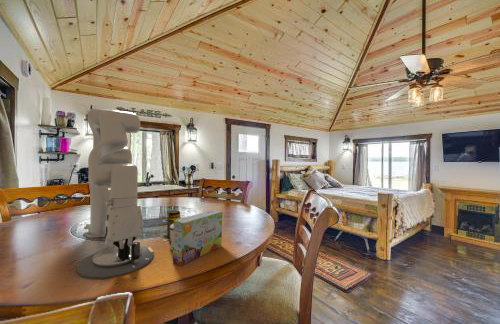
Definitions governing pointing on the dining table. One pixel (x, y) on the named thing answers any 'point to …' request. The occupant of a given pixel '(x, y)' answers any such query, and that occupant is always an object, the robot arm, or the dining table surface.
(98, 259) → the dial
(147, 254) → the dial plate
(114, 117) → the robot arm
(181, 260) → the snack box
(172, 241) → the teacup with lid
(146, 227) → the dining table surface
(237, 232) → the dining table surface
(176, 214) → the condiment
